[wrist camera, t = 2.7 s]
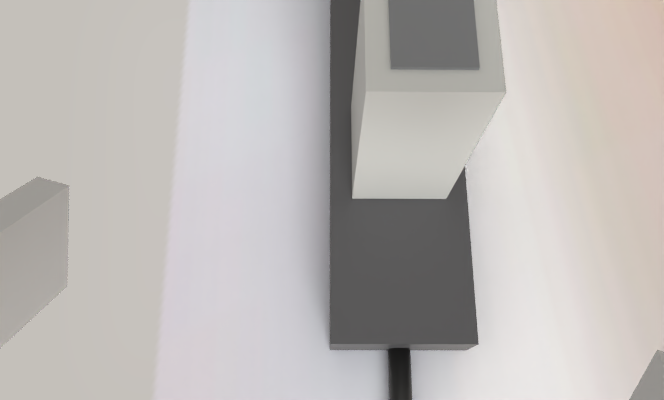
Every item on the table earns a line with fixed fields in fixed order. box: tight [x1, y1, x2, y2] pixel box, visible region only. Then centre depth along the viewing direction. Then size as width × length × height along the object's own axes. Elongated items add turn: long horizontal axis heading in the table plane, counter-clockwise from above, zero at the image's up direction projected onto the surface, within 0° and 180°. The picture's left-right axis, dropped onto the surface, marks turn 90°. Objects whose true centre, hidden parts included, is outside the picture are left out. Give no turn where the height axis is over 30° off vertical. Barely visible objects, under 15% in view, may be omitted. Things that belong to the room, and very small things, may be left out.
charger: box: [351, 0, 506, 199], centre depth 26 cm, size 5×4×12 cm
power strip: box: [330, 0, 478, 400], centre depth 30 cm, size 32×6×3 cm, turn 0°
